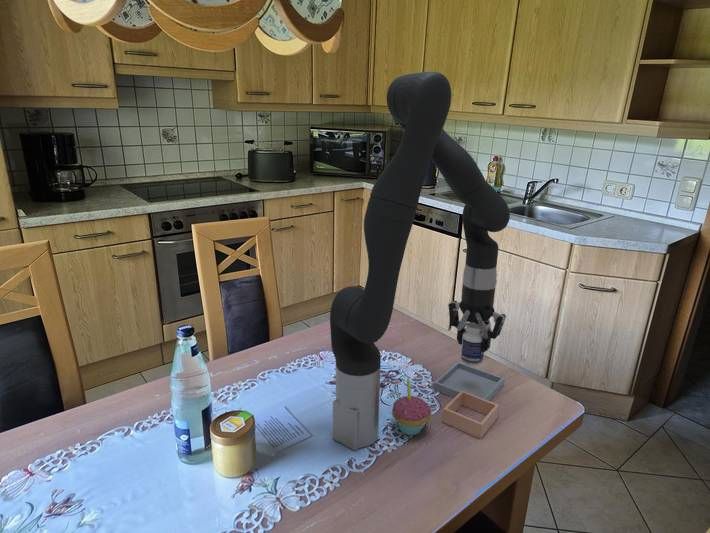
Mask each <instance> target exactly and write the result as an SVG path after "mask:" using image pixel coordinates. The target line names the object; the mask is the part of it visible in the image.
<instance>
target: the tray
mask: <svg viewBox="0 0 710 533" xmlns="http://www.w3.org/2000/svg"><path fill="white" fill-rule="evenodd" d="M504 384H505V377H502V376H500V375H497V374H495V373H492V372H488V371H486V370H482V369H481V368H477V367H476V366H470V365H467V364H464V363H463V362H462V361H461V362H460V361H457V362H456V363H454V364H453V365H452V366H451V367H450V368H448V369H447V370H446V371H445V372H444V373H443V374H442V375H440V377H438V378H437V379H436V380H435V381H434V382H433V390H434V391H437V392H439V393H441V394H444V395H447V396H449V397H451V398H452V399H454V398H455V397H456V396H457V395H458V394H459V393H460V392H461V391H465V392H467V393H470V394H472V395H475V396H478V397H480V398H483V399H485V400H488V401H490V402H491V401H492V399H493V398H494V397H495V396H496V395H497V393H498V392H499V391H500V390H501V389H502V388H503V387H504Z"/></svg>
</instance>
